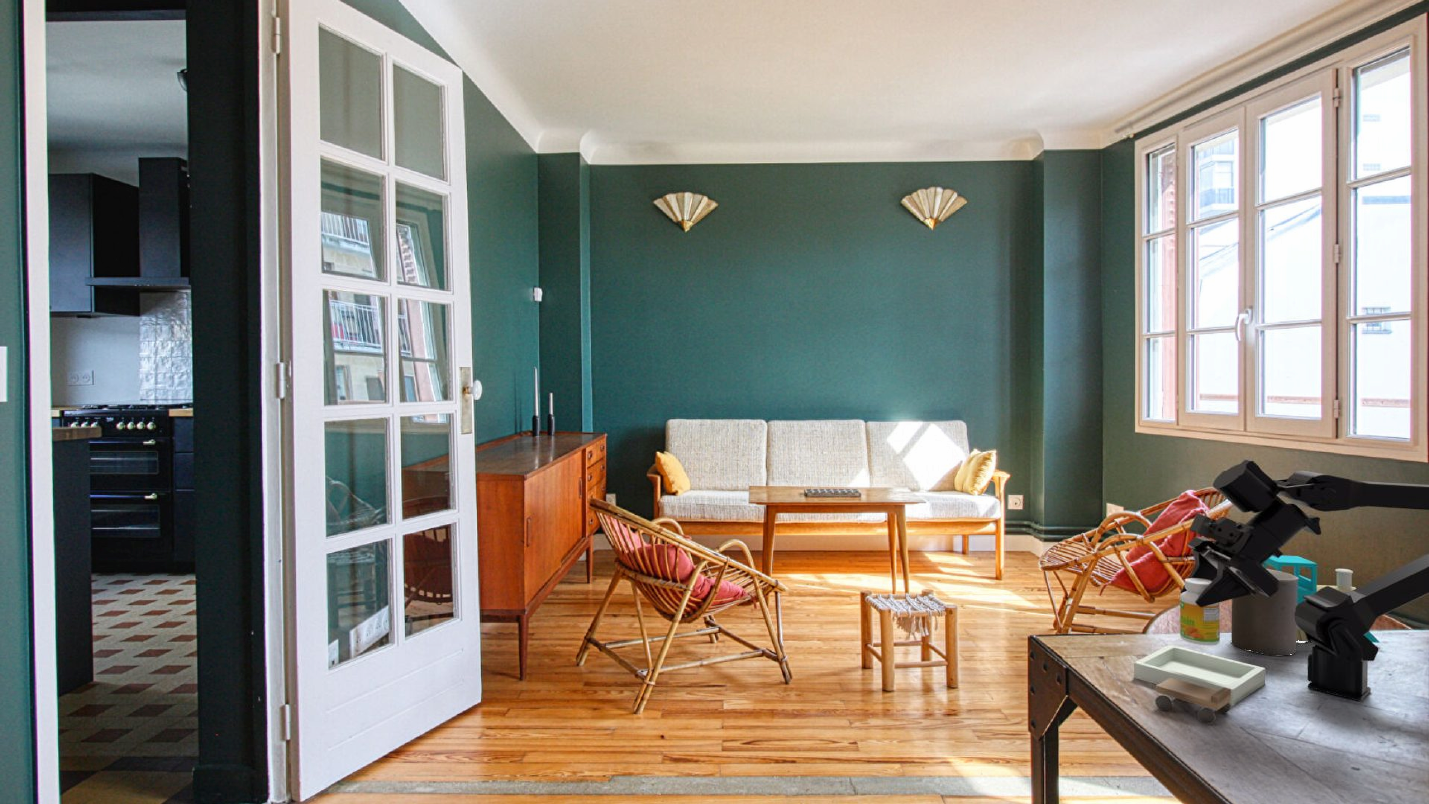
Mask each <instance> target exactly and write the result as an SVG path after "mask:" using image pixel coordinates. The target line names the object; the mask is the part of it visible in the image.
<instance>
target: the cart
mask: <svg viewBox="0 0 1429 804" xmlns="http://www.w3.org/2000/svg"><path fill="white" fill-rule="evenodd" d="M1155 686H1156V687H1155V692H1156V693H1157V694H1161V695H1159V696H1157V697H1155V703H1154V704H1155V705H1156V707H1157V708H1158V709H1159V710H1161V711H1164V712H1166V711H1169V710H1171V709H1172V707H1173V701H1172V700H1171V698H1175V700H1178V701H1181V702H1182V701H1185V702H1188V703H1191V704H1195V705H1198V706H1202V708H1200V709H1199V710H1198V711H1197V718H1198V719H1199V721H1200V722H1201V723H1203V724H1205V725H1211V724H1213V723H1214V722H1215V721H1216V718H1217V717H1216V714H1215V712H1214V711H1216V712H1219V714H1220V713H1221V714H1227V713H1228V712H1230V711H1231V708H1232V706H1231V704H1230V701H1231V689H1229V688H1225V687H1224V688H1222V689H1221V690H1219V691H1216V690H1213V689H1209V688H1206V687H1202V686H1198V685H1195V684H1191V683H1188V682H1184V681H1180V680H1177V679H1173V678H1169V679H1167V680H1165V681H1164V682H1162V683H1160V684H1158V685H1157V684H1155Z"/></svg>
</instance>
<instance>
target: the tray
mask: <svg viewBox="0 0 1429 804" xmlns="http://www.w3.org/2000/svg"><path fill="white" fill-rule="evenodd" d="M1133 678H1134V679H1137V680H1140V681H1144V682H1148V683H1151V684H1155V685H1158V684H1160V683H1162V682H1164V681H1165V680H1167V679H1169V678H1173V679H1177V680H1180V681H1184V682H1188V683H1191V684H1195V685H1198V686H1202V687H1206V688H1209V689H1213V690H1216V691H1219V690H1221V689H1222V688H1224V687H1225V688H1229V689H1231V701H1230V704H1231V707H1235V705H1237V704H1238V703H1239V702H1241V701H1242V700H1245V698H1247V697H1248V696H1249V695H1251V694H1252V693H1254V692H1255V691H1257V690H1258V689H1259V688H1262V686H1264V685H1265V684H1266V668H1265V667H1263V666H1258V665H1254V664H1251V663H1250V664H1249V663H1246V662H1242V661H1238V660H1234V659H1230V658H1226V657H1222V656H1217V655H1213V654H1209V653H1204V652H1201V651H1197V650H1193V649H1189V648H1184V647H1181V646H1176V645H1173V644H1168V645H1167V646H1164V647H1163V648H1160V649H1159V650H1157V651H1155V652H1152V653H1151V654H1149V655H1146V656H1144V657H1142V658H1141V659H1138V660H1137V661H1134V662H1133Z"/></svg>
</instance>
